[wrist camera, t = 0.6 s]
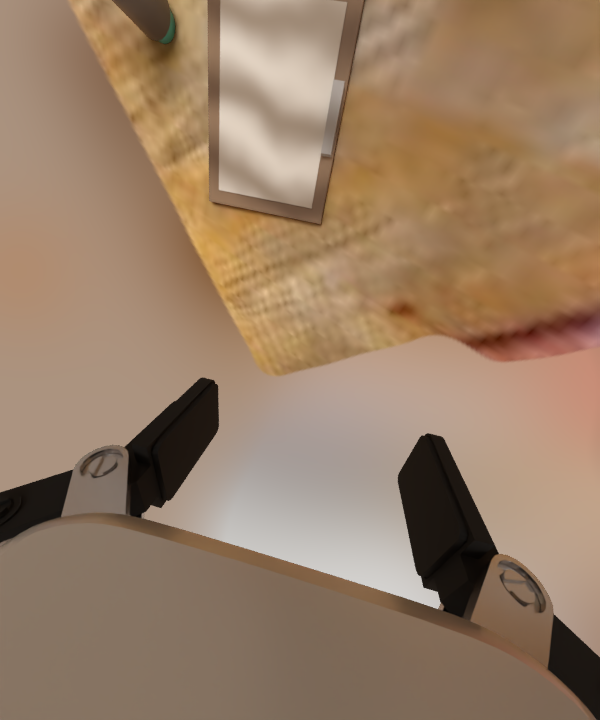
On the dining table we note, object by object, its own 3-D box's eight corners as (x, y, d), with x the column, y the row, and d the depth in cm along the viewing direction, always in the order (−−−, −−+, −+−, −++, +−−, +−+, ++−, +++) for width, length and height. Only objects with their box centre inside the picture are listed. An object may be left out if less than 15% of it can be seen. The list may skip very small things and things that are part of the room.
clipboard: (212, -30, 24) (201, -51, 22) (366, -10, 23) (368, -31, 21) (212, 202, 33) (205, 200, 32) (320, 224, 32) (319, 223, 30)
